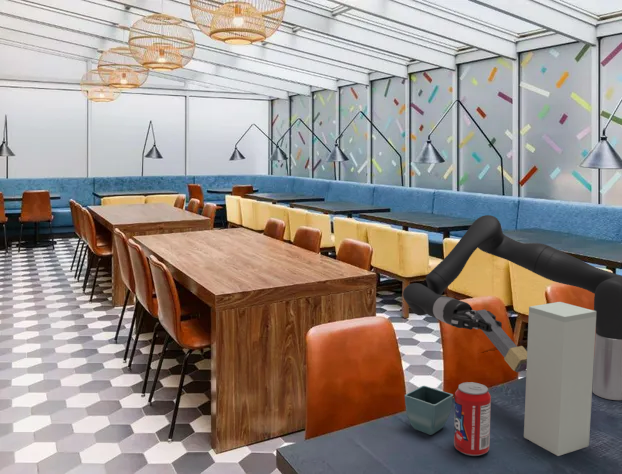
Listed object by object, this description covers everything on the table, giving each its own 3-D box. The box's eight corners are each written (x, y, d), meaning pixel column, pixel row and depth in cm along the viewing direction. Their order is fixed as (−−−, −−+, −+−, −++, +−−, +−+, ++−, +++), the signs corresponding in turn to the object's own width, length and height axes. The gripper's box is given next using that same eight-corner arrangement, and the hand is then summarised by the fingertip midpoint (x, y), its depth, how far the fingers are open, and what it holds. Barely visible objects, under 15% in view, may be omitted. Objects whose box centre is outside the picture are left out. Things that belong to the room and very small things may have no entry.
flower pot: (453, 428, 144) (454, 394, 142) (434, 441, 137) (435, 405, 136) (422, 418, 150) (423, 384, 148) (403, 429, 143) (403, 395, 142)
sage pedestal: (553, 428, 143) (559, 301, 139) (588, 446, 134) (596, 311, 130) (523, 437, 139) (529, 306, 134) (558, 456, 130) (564, 316, 125)
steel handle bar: (482, 317, 159) (488, 306, 157) (527, 369, 145) (533, 359, 143) (471, 318, 157) (476, 308, 155) (515, 372, 144) (521, 361, 141)
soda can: (487, 461, 128) (489, 396, 126) (451, 455, 131) (452, 391, 129) (490, 445, 135) (492, 383, 133) (456, 439, 138) (457, 378, 136)
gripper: (471, 321, 171) (515, 337, 155) (432, 327, 165) (474, 345, 149) (471, 296, 170) (516, 310, 154) (432, 301, 164) (475, 316, 148)
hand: (495, 327), depth 152 cm, fingers closed on steel handle bar, 3 cm apart
